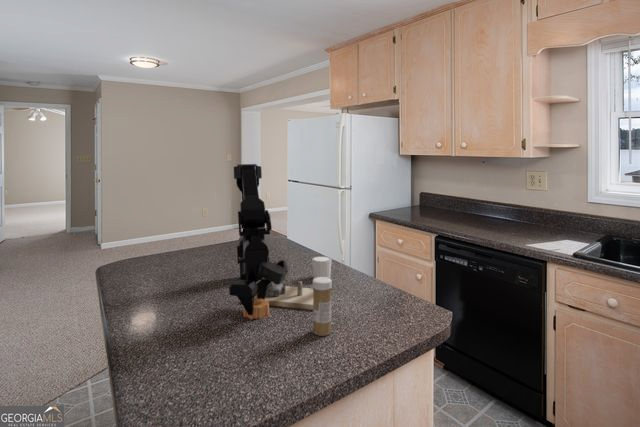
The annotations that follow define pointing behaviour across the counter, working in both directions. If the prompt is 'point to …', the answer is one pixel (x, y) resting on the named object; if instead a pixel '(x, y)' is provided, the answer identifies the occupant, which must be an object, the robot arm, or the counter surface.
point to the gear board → (289, 296)
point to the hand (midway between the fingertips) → (256, 309)
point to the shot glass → (321, 266)
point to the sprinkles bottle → (322, 306)
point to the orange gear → (258, 309)
